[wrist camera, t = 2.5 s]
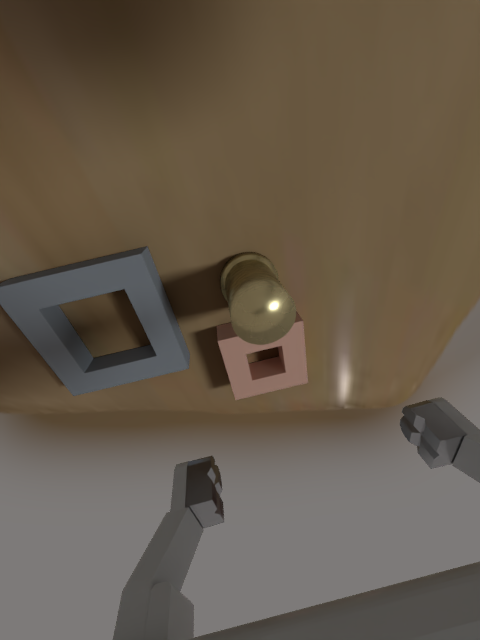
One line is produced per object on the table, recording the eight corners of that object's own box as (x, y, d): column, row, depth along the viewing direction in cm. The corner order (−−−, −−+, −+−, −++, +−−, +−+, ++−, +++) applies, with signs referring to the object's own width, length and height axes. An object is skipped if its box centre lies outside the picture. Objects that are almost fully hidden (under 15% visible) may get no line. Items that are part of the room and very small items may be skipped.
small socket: (294, 307, 28) (303, 320, 25) (299, 366, 32) (307, 382, 30) (216, 325, 28) (217, 341, 25) (233, 382, 32) (235, 400, 30)
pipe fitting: (271, 245, 24) (298, 273, 17) (278, 298, 27) (303, 339, 20) (213, 259, 24) (217, 292, 17) (227, 310, 27) (234, 355, 20)
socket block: (147, 246, 23) (141, 253, 20) (189, 354, 29) (188, 368, 27) (8, 279, 23) (-12, 289, 20) (83, 379, 29) (73, 395, 27)
